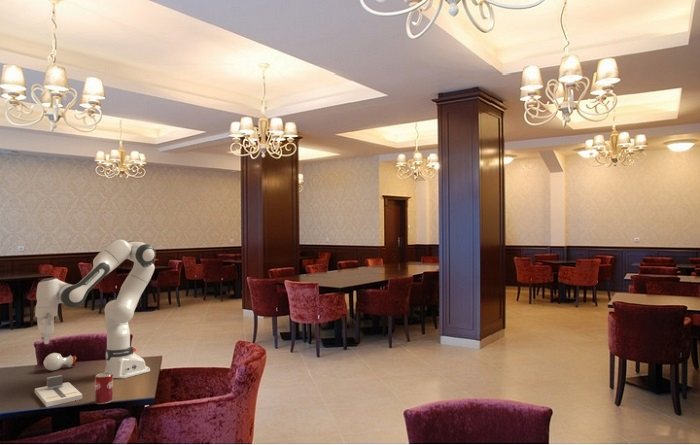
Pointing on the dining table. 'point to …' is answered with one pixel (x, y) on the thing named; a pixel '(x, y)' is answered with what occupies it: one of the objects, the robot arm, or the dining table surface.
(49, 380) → the fader
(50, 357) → the potion bottle
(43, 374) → the dining table surface
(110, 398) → the soda can
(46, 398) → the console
